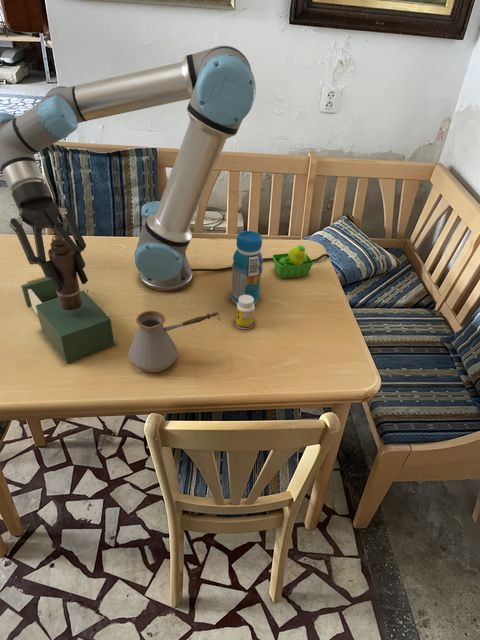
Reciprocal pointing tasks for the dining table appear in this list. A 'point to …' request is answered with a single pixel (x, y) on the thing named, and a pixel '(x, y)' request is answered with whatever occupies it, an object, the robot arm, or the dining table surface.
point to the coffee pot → (156, 341)
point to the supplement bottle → (245, 312)
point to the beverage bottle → (247, 266)
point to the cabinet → (76, 328)
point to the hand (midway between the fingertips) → (72, 286)
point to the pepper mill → (65, 273)
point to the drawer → (39, 292)
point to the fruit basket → (292, 263)
